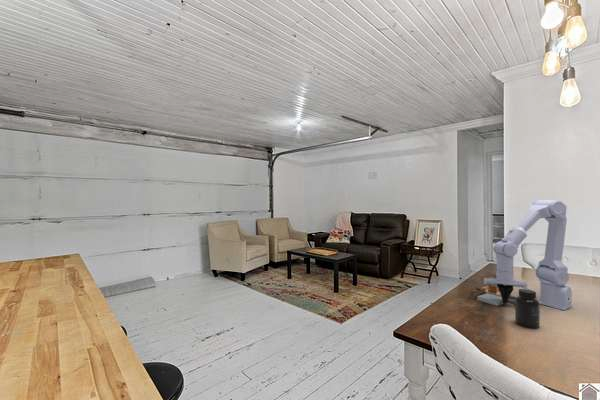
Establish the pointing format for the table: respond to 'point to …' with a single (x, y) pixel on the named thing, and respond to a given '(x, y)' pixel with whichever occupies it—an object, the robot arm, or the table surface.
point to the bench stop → (477, 292)
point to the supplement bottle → (527, 309)
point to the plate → (490, 299)
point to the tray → (492, 293)
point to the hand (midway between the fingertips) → (504, 302)
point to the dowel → (492, 287)
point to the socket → (511, 300)
